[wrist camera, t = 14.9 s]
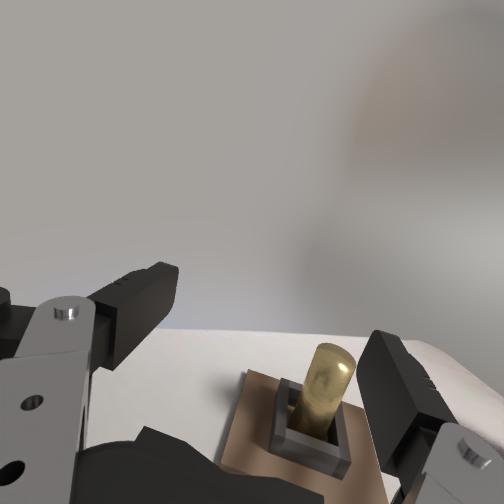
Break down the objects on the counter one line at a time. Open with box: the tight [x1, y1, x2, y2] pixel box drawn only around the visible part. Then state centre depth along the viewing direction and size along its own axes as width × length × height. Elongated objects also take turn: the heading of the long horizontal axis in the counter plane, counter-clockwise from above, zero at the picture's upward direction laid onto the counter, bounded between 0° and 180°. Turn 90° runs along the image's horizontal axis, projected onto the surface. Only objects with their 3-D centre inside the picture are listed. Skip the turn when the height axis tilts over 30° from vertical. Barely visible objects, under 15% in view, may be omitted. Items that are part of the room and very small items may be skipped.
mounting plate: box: [219, 369, 388, 504], centre depth 32 cm, size 18×14×4 cm
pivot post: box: [288, 343, 356, 441], centre depth 30 cm, size 4×4×12 cm
